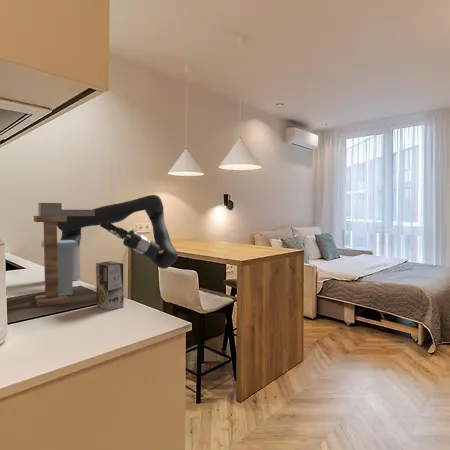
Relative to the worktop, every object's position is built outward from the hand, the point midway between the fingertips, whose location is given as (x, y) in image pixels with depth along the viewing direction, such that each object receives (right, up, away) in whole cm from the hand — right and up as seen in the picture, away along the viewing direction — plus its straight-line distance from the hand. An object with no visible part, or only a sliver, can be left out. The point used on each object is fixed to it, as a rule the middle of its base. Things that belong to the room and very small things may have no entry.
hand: (104, 224), depth 143 cm
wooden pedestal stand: (-17, -30, -10) cm, 36 cm away
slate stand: (-19, -29, +3) cm, 35 cm away
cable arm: (-11, +3, -8) cm, 14 cm away
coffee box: (+7, -31, -15) cm, 35 cm away
